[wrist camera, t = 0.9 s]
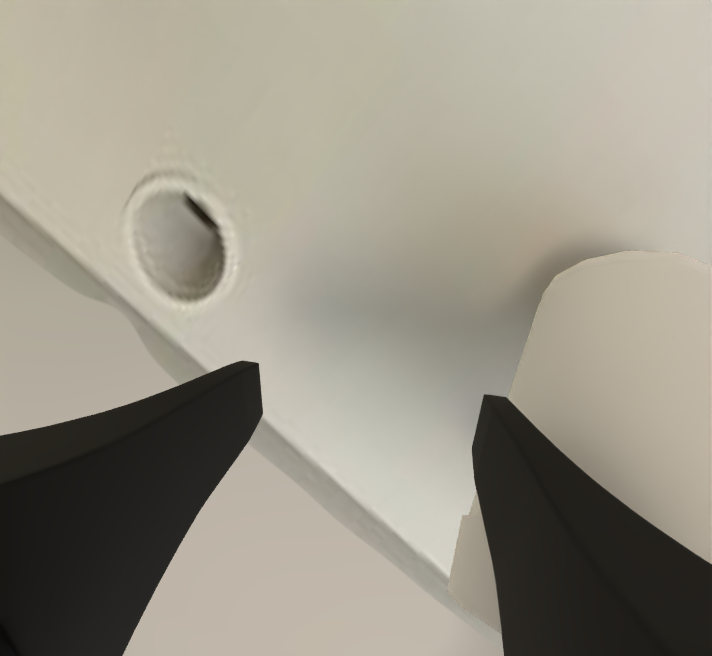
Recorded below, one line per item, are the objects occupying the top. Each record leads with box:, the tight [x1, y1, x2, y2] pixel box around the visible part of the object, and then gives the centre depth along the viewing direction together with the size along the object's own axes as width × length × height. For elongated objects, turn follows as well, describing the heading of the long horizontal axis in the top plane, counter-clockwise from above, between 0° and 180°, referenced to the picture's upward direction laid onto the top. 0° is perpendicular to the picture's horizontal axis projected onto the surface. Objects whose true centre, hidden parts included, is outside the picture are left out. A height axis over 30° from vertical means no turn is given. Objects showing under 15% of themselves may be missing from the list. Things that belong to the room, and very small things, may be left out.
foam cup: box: [447, 250, 712, 634], centre depth 12 cm, size 10×9×13 cm
